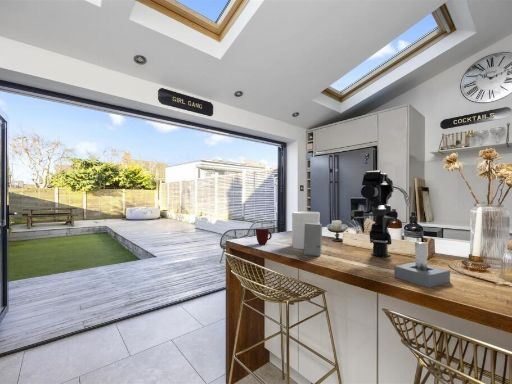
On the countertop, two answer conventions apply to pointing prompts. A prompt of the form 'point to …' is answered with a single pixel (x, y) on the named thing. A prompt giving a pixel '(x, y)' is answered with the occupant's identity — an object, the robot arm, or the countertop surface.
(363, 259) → the countertop surface
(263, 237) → the mug
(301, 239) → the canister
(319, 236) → the skincare box
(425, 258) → the steel peg
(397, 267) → the hole block
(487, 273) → the countertop surface
